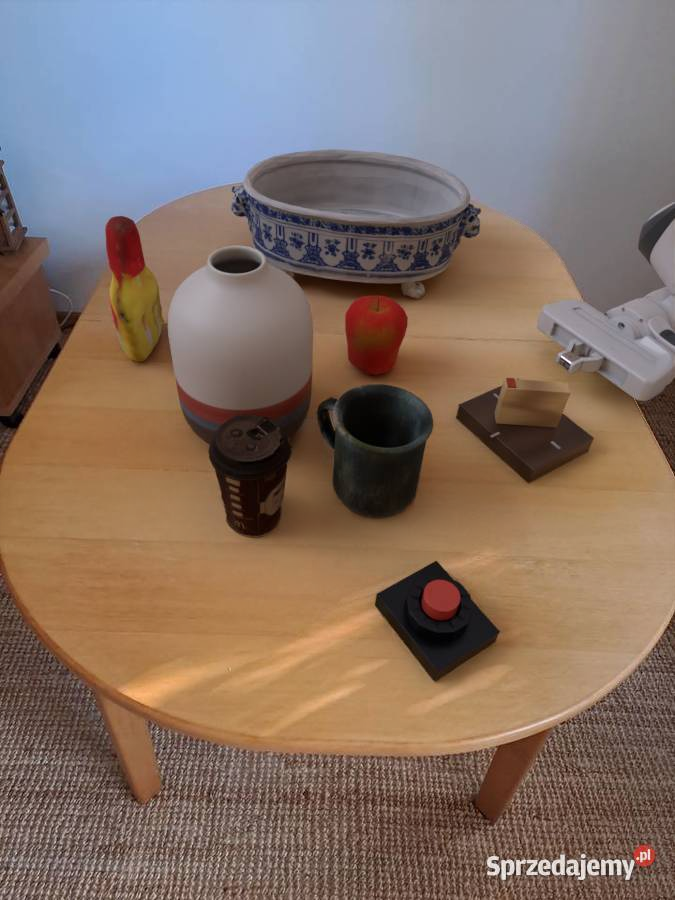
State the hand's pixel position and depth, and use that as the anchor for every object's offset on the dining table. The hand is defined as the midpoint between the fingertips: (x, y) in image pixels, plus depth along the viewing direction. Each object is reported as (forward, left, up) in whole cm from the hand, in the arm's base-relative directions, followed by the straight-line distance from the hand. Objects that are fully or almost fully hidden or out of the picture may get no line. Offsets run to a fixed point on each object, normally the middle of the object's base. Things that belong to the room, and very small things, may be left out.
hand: (563, 364), depth 91 cm
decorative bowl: (+45, +4, -6) cm, 46 cm away
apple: (+19, +18, -6) cm, 27 cm away
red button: (-19, +37, -3) cm, 42 cm away
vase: (+18, +39, -6) cm, 43 cm away
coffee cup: (+3, +46, -6) cm, 47 cm away
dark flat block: (-3, +9, -6) cm, 11 cm away
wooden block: (-3, +9, -4) cm, 10 cm away
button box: (-19, +37, -6) cm, 42 cm away
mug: (+1, +32, -6) cm, 33 cm away
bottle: (+40, +45, -6) cm, 61 cm away
